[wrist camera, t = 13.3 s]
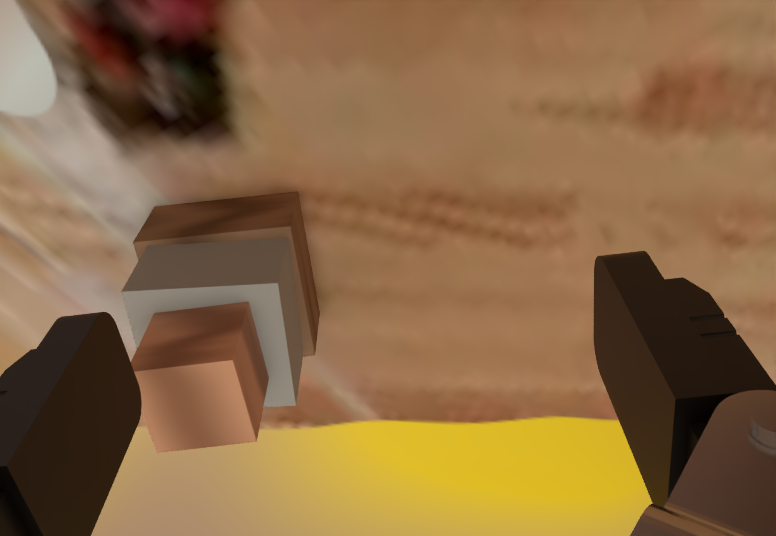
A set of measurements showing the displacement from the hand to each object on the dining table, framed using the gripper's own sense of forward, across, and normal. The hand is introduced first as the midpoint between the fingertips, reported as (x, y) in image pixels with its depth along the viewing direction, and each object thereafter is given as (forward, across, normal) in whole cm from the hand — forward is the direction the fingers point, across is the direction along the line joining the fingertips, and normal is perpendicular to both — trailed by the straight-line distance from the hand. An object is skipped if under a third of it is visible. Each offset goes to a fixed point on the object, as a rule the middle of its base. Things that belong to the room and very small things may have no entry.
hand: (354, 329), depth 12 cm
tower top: (+27, +11, +15) cm, 33 cm away
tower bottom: (+32, +11, +15) cm, 37 cm away
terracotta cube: (+22, +11, +15) cm, 29 cm away
